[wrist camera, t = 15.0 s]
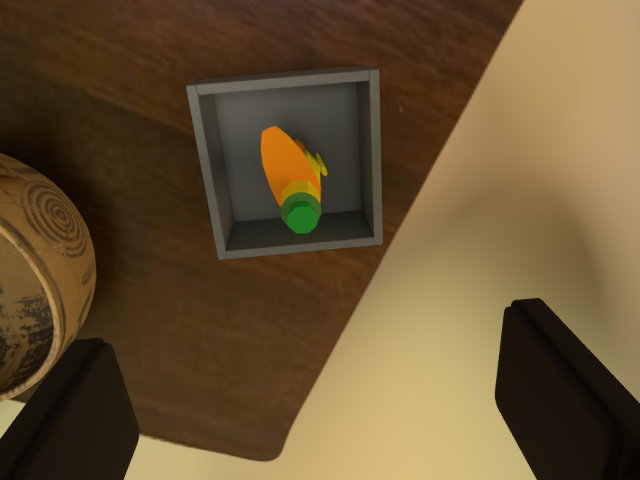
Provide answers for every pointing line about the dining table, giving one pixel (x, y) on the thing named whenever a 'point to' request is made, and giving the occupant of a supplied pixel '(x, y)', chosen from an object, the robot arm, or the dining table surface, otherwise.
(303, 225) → the toy figure
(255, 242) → the grey bin
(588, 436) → the robot arm
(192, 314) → the dining table surface
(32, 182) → the ceramic bowl
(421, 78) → the dining table surface
